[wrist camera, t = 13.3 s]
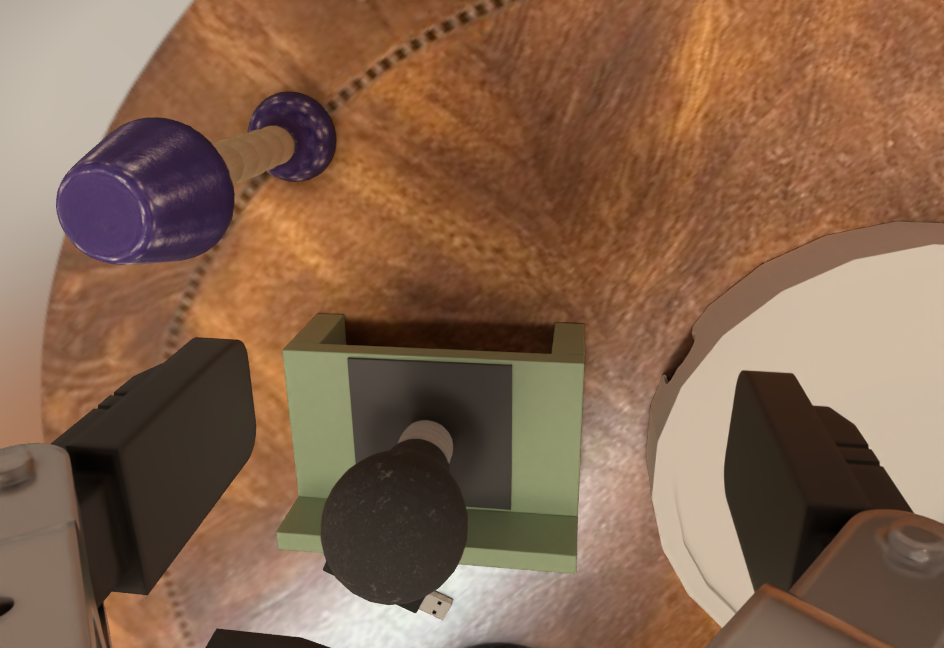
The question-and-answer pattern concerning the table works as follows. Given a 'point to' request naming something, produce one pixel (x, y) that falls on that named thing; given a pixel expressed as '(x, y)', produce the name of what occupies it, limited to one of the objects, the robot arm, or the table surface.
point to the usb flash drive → (423, 602)
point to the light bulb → (397, 519)
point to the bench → (465, 418)
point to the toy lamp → (184, 180)
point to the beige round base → (805, 385)
